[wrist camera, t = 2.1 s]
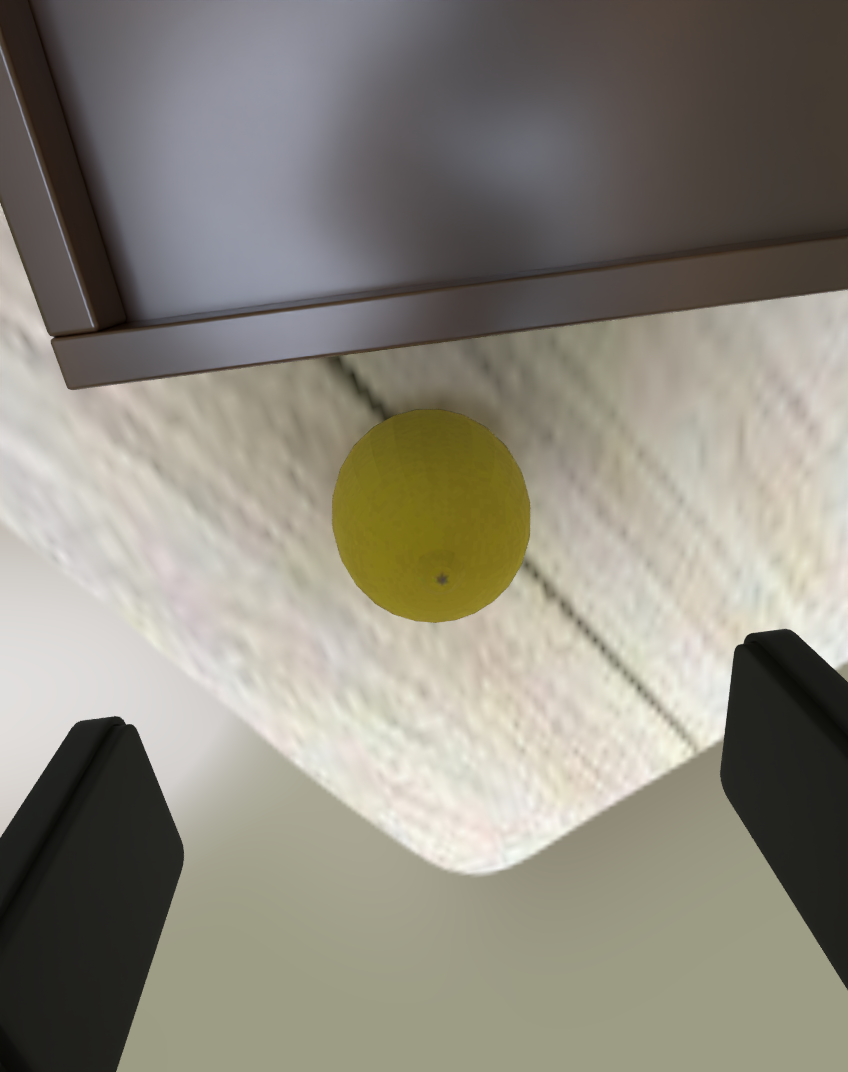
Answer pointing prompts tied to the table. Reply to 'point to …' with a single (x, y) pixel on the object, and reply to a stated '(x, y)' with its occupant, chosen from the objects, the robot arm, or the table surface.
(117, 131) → the shelf
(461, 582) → the lemon
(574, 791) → the table surface
